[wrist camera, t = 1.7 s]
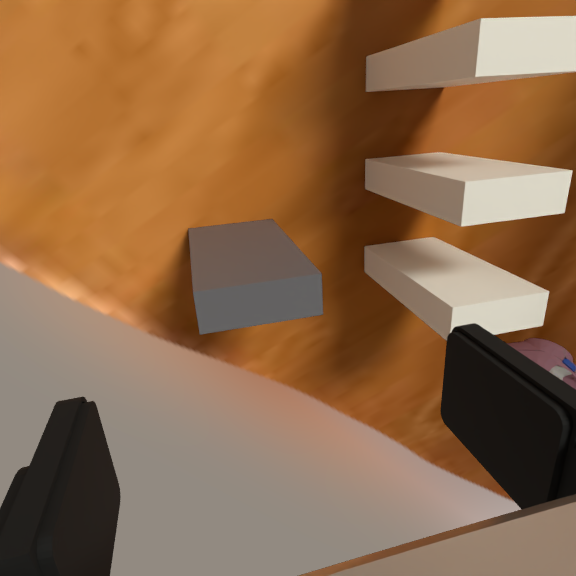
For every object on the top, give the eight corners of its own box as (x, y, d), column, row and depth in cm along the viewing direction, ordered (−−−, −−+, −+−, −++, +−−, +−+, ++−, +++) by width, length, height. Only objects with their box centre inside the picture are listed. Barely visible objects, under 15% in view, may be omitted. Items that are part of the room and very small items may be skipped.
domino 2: (366, 56, 24) (481, 18, 15) (447, 53, 25) (602, 14, 16) (365, 92, 24) (475, 76, 15) (444, 87, 25) (591, 70, 16)
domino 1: (188, 228, 25) (193, 292, 16) (272, 218, 26) (321, 273, 17) (192, 257, 26) (199, 334, 16) (274, 247, 26) (322, 314, 17)
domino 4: (364, 246, 28) (452, 307, 19) (433, 236, 29) (549, 291, 20) (364, 271, 29) (449, 343, 20) (431, 261, 29) (542, 325, 20)
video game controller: (527, 389, 39) (619, 410, 33) (507, 433, 37) (600, 463, 31) (481, 320, 35) (577, 330, 29) (457, 366, 33) (553, 386, 27)
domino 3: (365, 159, 26) (465, 181, 17) (439, 152, 27) (572, 170, 18) (365, 189, 26) (461, 226, 17) (437, 181, 27) (564, 213, 18)
